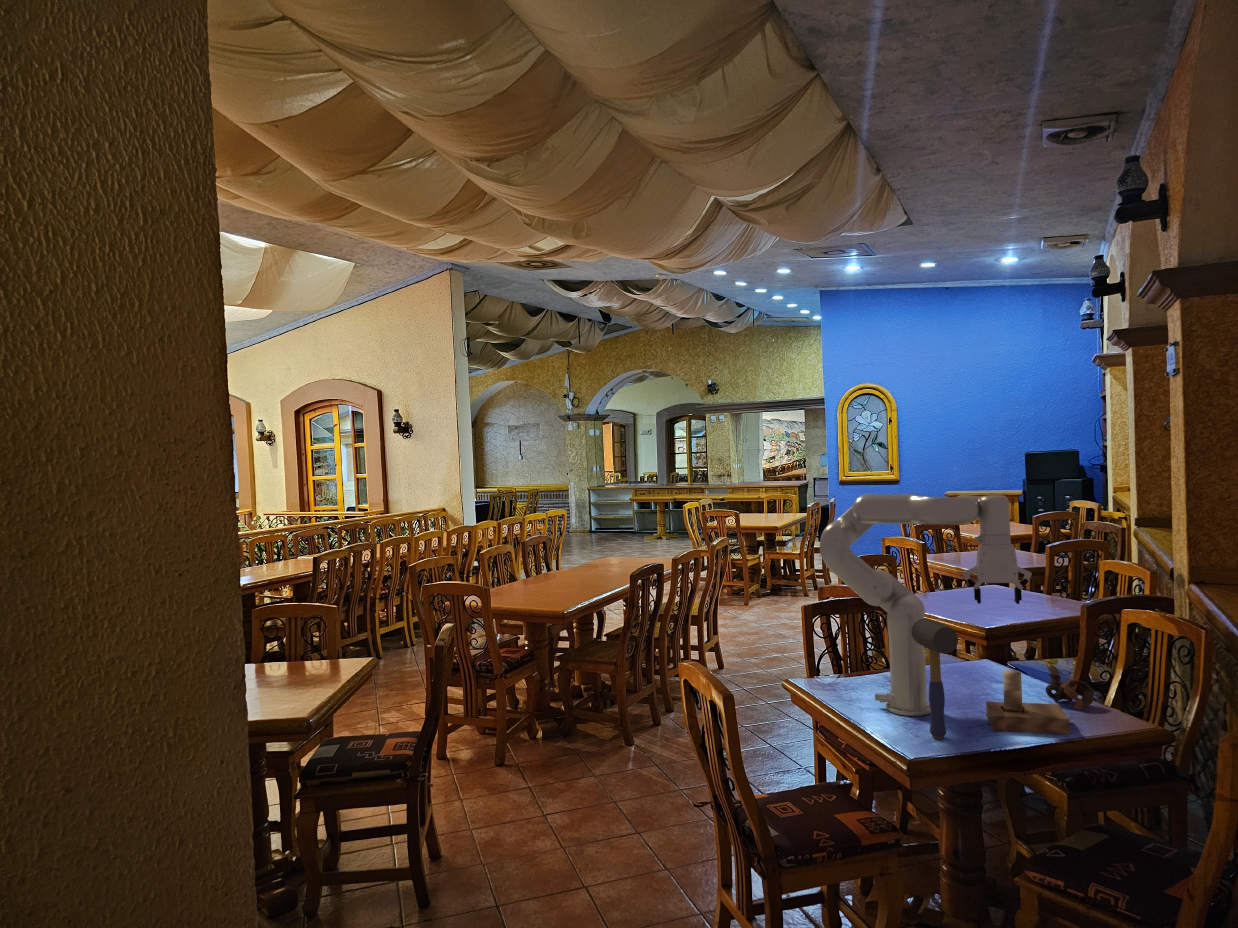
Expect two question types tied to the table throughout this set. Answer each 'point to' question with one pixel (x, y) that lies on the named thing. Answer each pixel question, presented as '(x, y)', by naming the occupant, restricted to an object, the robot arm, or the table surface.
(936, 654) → the rubber mallet
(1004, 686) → the peg
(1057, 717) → the board
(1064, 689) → the dark looped piece
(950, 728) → the table surface
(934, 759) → the table surface
